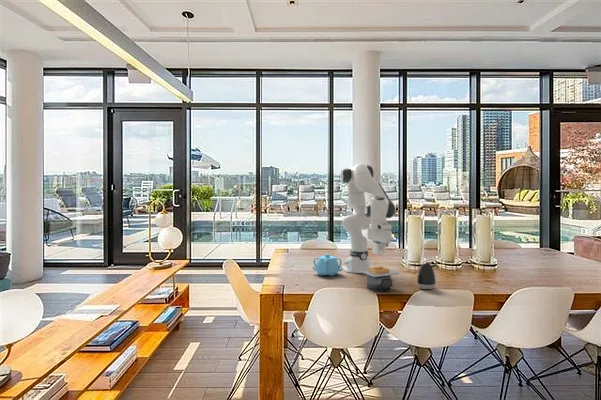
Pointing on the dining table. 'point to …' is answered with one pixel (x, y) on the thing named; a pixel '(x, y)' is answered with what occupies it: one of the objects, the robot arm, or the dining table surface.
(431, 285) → the pump dispenser
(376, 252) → the pump housing
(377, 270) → the clip collar
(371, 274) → the motor
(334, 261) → the decorative pot
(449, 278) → the dining table surface
